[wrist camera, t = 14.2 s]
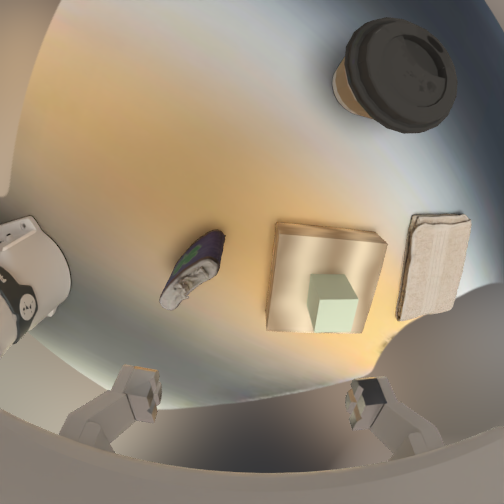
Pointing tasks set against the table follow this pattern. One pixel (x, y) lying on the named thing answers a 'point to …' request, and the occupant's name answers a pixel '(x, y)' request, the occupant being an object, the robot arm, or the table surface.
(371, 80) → the coffee cup
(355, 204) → the table surface
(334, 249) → the birch block
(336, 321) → the sage block
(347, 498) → the robot arm
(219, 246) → the dark blue flattened pouch
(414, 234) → the washcloth
